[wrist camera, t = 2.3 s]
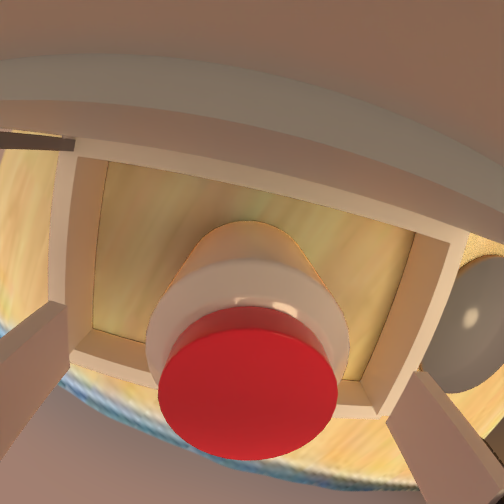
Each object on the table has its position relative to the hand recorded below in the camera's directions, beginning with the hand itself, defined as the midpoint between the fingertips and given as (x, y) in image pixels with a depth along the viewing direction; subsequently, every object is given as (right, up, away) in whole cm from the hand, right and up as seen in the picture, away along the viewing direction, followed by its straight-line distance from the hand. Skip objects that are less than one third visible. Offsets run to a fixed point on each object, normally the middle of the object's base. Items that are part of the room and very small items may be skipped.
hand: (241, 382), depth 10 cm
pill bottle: (0, +3, +9) cm, 10 cm away
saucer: (+19, -2, +10) cm, 21 cm away
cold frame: (0, +3, +9) cm, 9 cm away
